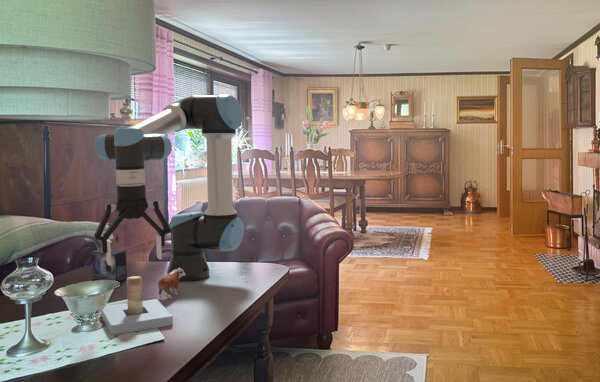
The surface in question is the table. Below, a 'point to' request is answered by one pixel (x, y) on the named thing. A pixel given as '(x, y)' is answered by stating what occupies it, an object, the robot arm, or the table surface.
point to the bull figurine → (170, 282)
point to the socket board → (136, 317)
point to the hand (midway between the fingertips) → (134, 261)
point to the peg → (134, 295)
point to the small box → (109, 271)
